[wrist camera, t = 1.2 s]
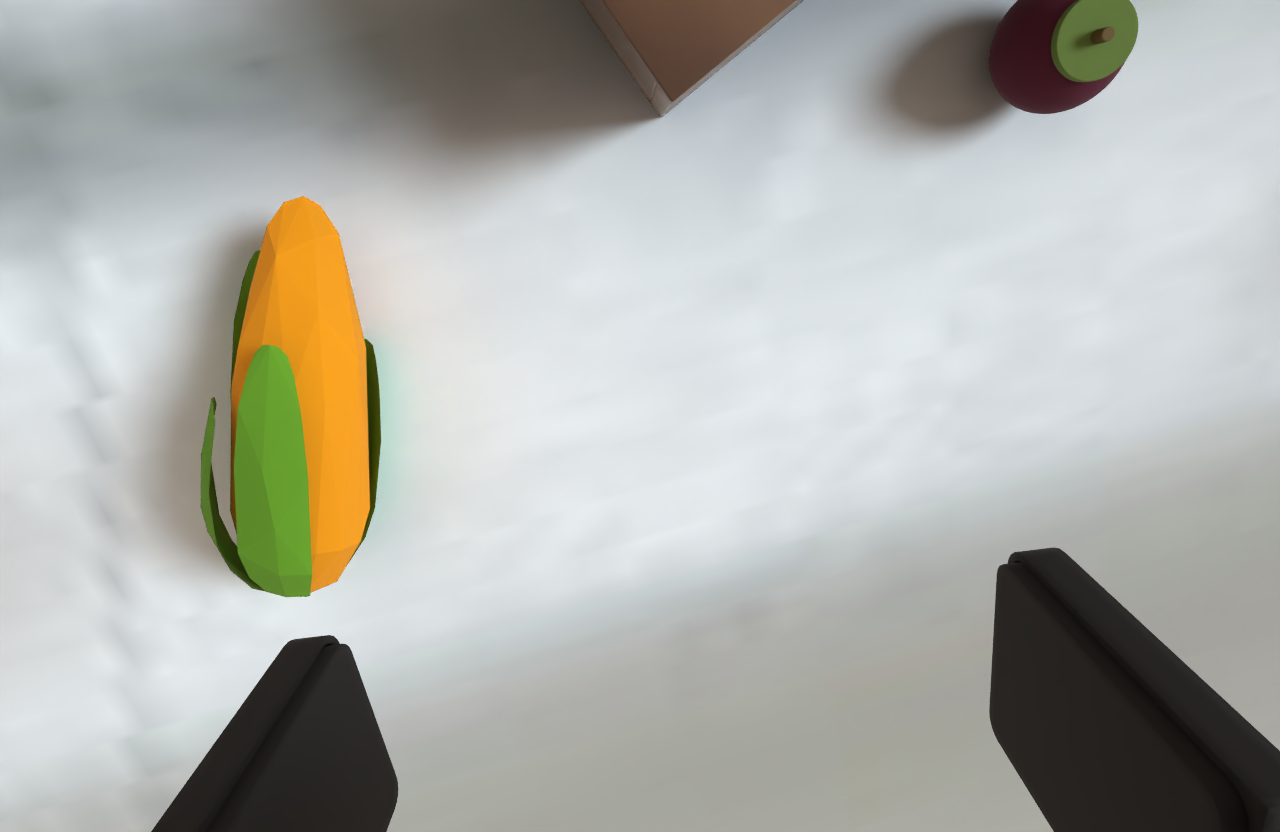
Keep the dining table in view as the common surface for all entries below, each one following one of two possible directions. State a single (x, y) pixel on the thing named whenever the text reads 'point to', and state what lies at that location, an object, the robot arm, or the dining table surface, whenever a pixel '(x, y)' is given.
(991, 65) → the mangosteen
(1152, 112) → the dining table surface
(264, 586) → the corn
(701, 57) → the cabinet
